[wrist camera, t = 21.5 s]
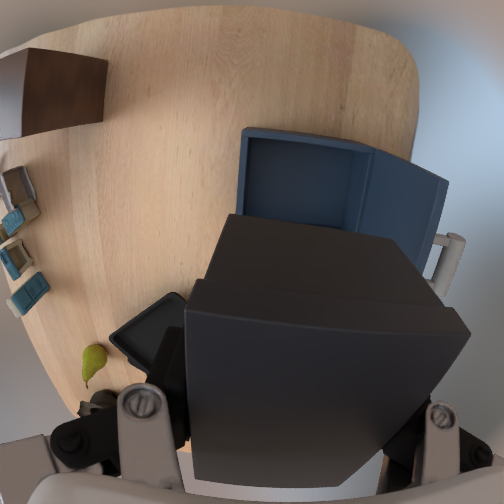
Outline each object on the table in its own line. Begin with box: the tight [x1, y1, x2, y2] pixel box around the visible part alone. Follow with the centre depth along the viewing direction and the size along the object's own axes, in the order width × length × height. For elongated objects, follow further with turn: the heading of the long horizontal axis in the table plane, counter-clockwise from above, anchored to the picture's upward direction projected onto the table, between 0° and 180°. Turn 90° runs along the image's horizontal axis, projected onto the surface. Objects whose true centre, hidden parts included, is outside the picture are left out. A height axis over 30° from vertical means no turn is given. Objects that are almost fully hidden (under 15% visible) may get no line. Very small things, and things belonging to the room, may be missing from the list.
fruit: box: [82, 345, 107, 388], centre depth 54 cm, size 6×6×12 cm
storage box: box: [236, 127, 377, 233], centre depth 37 cm, size 16×14×8 cm
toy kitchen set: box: [0, 198, 49, 318], centre depth 43 cm, size 18×14×11 cm
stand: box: [0, 48, 108, 140], centre depth 27 cm, size 10×10×18 cm
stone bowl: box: [77, 390, 118, 417], centre depth 67 cm, size 25×25×9 cm
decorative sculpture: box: [0, 166, 36, 213], centre depth 38 cm, size 16×10×7 cm, turn 84°
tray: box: [109, 292, 187, 376], centre depth 53 cm, size 30×23×5 cm
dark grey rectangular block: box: [184, 214, 471, 488], centre depth 9 cm, size 9×6×5 cm, turn 173°
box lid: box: [359, 149, 466, 297], centre depth 25 cm, size 16×14×5 cm
